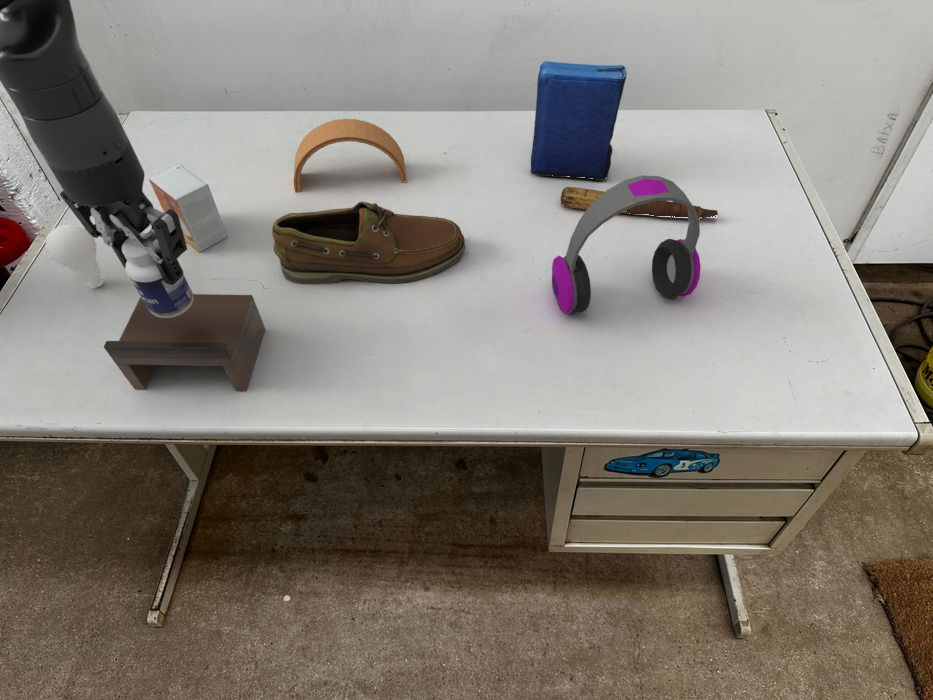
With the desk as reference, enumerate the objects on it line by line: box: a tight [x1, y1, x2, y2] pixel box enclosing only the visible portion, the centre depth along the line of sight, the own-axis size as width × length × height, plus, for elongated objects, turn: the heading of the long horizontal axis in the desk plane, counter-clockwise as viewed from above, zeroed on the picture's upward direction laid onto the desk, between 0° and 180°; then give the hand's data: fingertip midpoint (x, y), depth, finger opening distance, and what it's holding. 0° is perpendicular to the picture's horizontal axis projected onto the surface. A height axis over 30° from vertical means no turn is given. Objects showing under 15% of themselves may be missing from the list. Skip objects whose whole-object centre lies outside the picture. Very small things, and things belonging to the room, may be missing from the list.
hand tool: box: [560, 186, 719, 219], centre depth 103 cm, size 4×26×3 cm, turn 79°
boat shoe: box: [271, 201, 466, 284], centre depth 92 cm, size 10×29×10 cm, turn 102°
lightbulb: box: [45, 223, 105, 289], centre depth 89 cm, size 6×6×11 cm
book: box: [530, 61, 628, 180], centre depth 103 cm, size 14×5×20 cm, turn 82°
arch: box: [293, 118, 408, 193], centre depth 106 cm, size 6×20×10 cm, turn 98°
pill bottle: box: [122, 232, 194, 318], centre depth 72 cm, size 5×5×10 cm
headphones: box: [551, 175, 702, 315], centre depth 84 cm, size 21×9×20 cm, turn 101°
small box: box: [148, 163, 228, 253], centre depth 96 cm, size 8×6×10 cm
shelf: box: [103, 293, 266, 392], centre depth 81 cm, size 11×15×9 cm
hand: (154, 272), depth 71 cm, fingers closed on pill bottle, 5 cm apart
